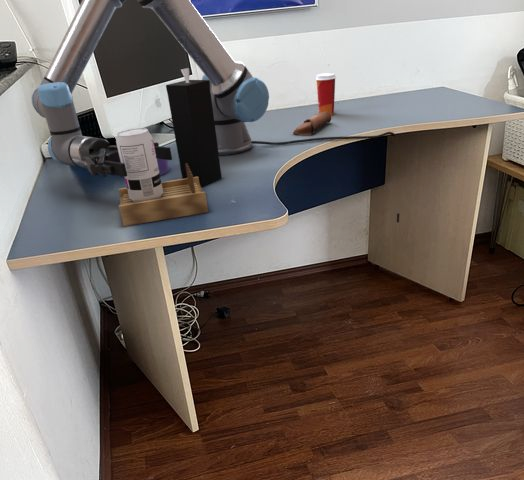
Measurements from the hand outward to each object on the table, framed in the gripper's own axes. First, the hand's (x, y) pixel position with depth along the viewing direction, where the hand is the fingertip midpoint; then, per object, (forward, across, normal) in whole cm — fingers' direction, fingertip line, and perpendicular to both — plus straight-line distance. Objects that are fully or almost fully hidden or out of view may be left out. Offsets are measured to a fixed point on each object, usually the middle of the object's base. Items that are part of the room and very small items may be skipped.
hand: (148, 161), depth 120 cm
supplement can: (-3, 0, -9) cm, 10 cm away
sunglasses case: (-14, -85, -13) cm, 87 cm away
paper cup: (-22, -107, -13) cm, 110 cm away
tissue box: (-9, -24, -13) cm, 28 cm away
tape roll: (-31, -23, -13) cm, 41 cm away
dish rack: (-1, -3, -12) cm, 13 cm away
